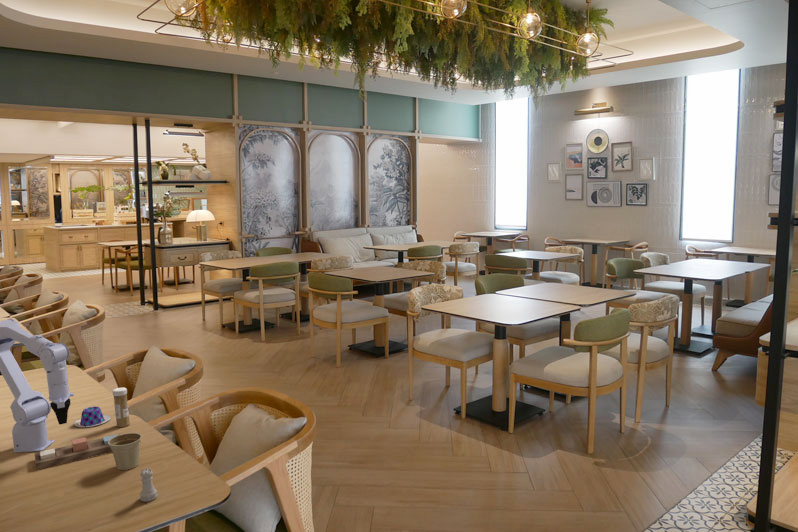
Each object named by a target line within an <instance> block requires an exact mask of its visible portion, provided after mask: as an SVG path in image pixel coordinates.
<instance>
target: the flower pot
mask: <svg viewBox="0 0 798 532" xmlns="http://www.w3.org/2000/svg"><path fill="white" fill-rule="evenodd" d="M117 435H118V436H115V437H113V438H111V439H110V440H109V441H108V444H109V445H110V448H111V449H112V452H111V453H112V454H113V459H114V462H115V466H116V469H117V468H118V470H119V471H127V470H128V469H129V470H131V469H132V468H136V467H137V465H138V466H139V465H140V446H141V445H140V443H141V440H142V437H143V435H142V434H141V433H138V432H127V433H122V434H120V435H119V434H117Z"/></svg>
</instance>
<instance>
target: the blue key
mask: <svg viewBox="0 0 798 532" xmlns="http://www.w3.org/2000/svg"><path fill="white" fill-rule="evenodd" d="M117 435H118V434H113V435H108V436H104V437H102V438H103V443H104V445H108V441H109V440H110V439H111V438H113V437H115V436H117Z"/></svg>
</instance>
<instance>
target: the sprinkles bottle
mask: <svg viewBox="0 0 798 532" xmlns="http://www.w3.org/2000/svg"><path fill="white" fill-rule="evenodd" d="M127 394H128V389H127V388H126V387H118V388H117V387H116V388H114V389H112V396H113V404H114V413H115V419H116V425H115V426H116V427H117V428H125V427H128V426H130V424H131V422H130V413H129V404H128V395H127Z"/></svg>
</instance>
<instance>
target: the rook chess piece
mask: <svg viewBox="0 0 798 532" xmlns="http://www.w3.org/2000/svg"><path fill="white" fill-rule="evenodd" d="M153 474H154V472H153V470H152V468H150V467H149V468H148V467H147V468H144V469H142V470H141V473H140V474H139V476H140V477H141V482H142V487H141V488H142V489H141V491H140V494H139V499H140V501H141V502H143V503H148V502H153V501H154V500H155V499H157V497H158V490H157V489H156V488H155V486H154V483H153V479H154V477H153Z"/></svg>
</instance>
